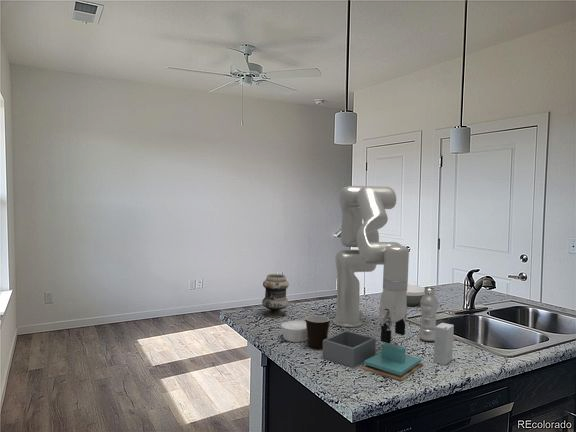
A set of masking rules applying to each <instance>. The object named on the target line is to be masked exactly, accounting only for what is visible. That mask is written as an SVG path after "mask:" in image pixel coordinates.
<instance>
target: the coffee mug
mask: <svg viewBox="0 0 576 432" xmlns="http://www.w3.org/2000/svg"><path fill="white" fill-rule="evenodd" d="M330 319H331V318H329V316H324V315H310V316H309V315H308V316H307V317H305V322H306V327H307V338H308V339H307V346H308V348H309V349H312V350H319V351H320V350H323V340H324V339H327V338H328V336H329V335H328V334H329V328H330V322H331V320H330Z"/></svg>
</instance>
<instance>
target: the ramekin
mask: <svg viewBox="0 0 576 432" xmlns="http://www.w3.org/2000/svg"><path fill="white" fill-rule="evenodd" d="M280 328H281V331H282V333H281V334H282V337H283V339H284V340H285V341H287V342H290V343H302V342H305V341H308V338H307V327H306V321H305V320H289V321H284V322H282V323H281V324H280Z"/></svg>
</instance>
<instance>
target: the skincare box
mask: <svg viewBox="0 0 576 432" xmlns="http://www.w3.org/2000/svg"><path fill="white" fill-rule="evenodd" d="M454 327H455V325H454V324H450V323H446V322H441V323H439V324H436V327H435V340H434V345H433V347H434V349H433V363H436V364H439V365H443V366H446V365H447V364H449V363H450V362H451V361H452V360H453V352H454V351H453V349H454Z"/></svg>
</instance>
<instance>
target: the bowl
mask: <svg viewBox="0 0 576 432" xmlns="http://www.w3.org/2000/svg"><path fill="white" fill-rule="evenodd" d="M424 291H425V286H421V285H420V286H419V285H415V284H408V286H407V291H406V297H407V307H414V305H415V306H417V305H418V304H421V303H420V301H421V298H422V297H423V296H424V295H425V293H424Z"/></svg>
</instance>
